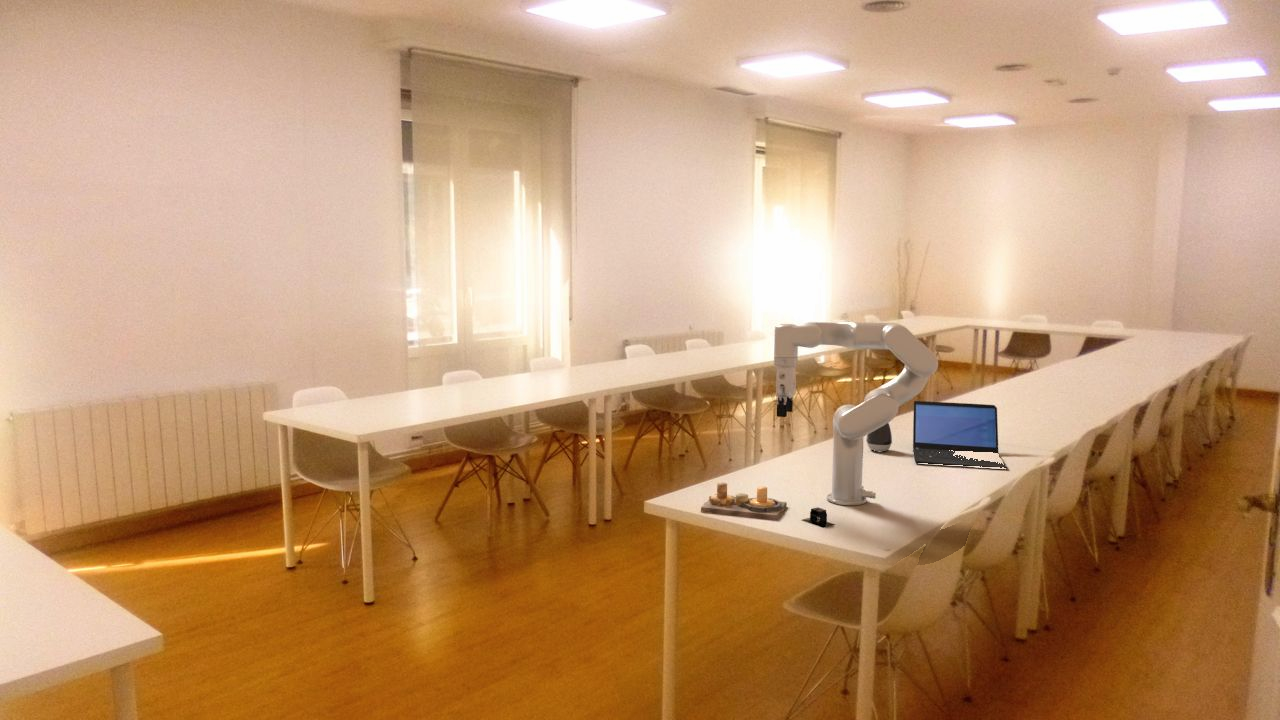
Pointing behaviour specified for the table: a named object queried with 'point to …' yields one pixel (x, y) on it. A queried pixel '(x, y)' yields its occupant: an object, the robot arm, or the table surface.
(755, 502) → the gear
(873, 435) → the pump dispenser
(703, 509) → the carrier
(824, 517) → the black slotted bracket
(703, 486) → the table surface
